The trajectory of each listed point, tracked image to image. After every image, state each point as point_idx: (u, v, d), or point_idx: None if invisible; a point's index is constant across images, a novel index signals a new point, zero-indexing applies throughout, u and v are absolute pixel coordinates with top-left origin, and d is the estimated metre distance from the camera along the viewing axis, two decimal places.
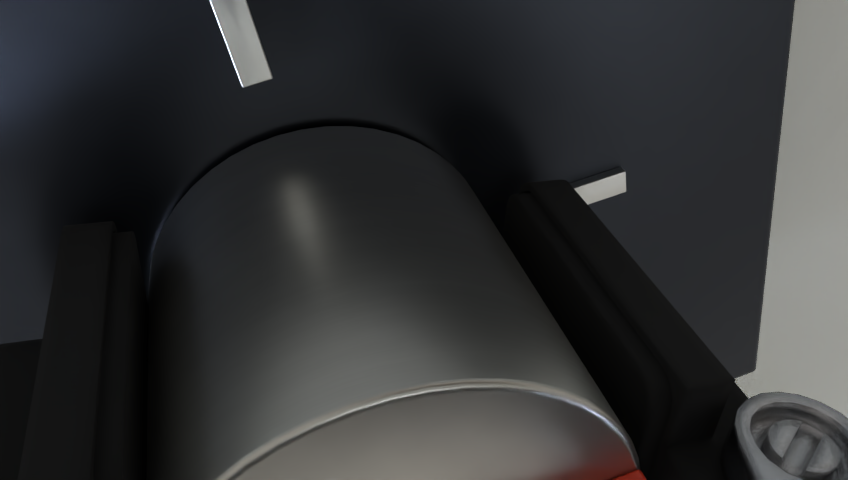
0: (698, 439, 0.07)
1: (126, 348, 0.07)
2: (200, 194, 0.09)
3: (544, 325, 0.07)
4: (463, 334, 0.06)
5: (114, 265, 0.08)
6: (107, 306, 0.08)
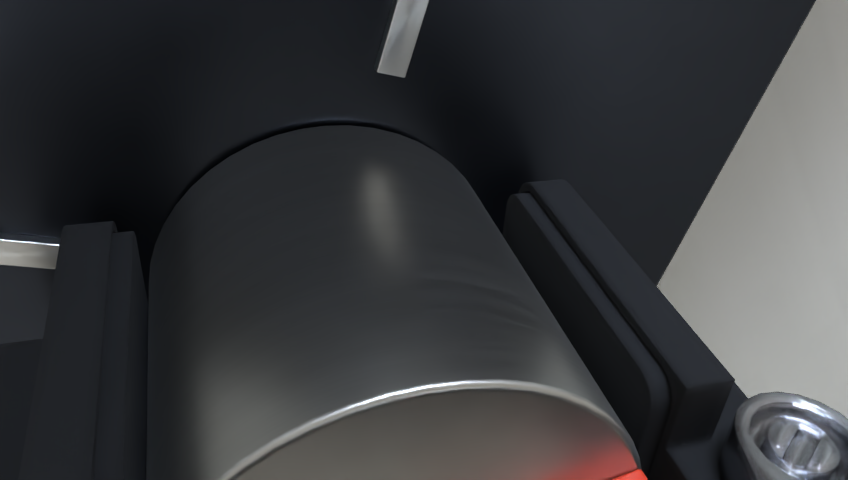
0: (698, 439, 0.07)
1: (126, 348, 0.07)
2: (199, 195, 0.09)
3: (544, 325, 0.07)
4: (462, 335, 0.06)
5: (114, 265, 0.08)
6: (108, 306, 0.08)
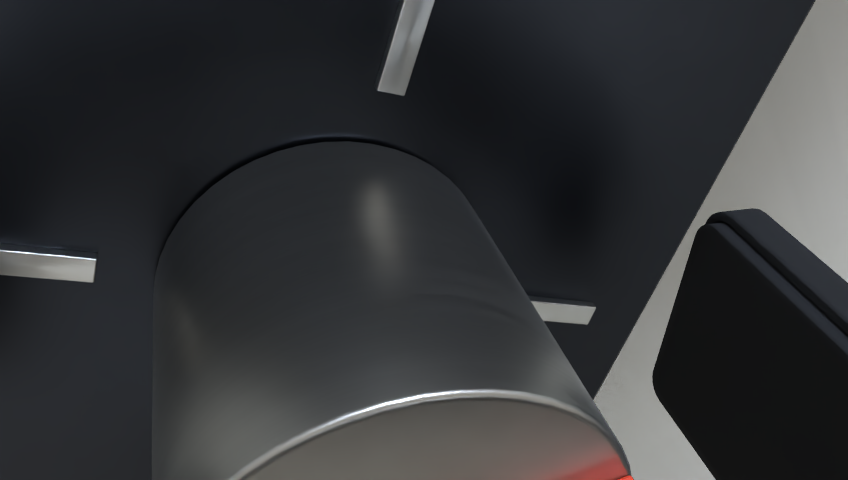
0: None
1: None
2: (202, 209, 0.09)
3: (536, 335, 0.07)
4: (455, 346, 0.07)
5: None
6: None
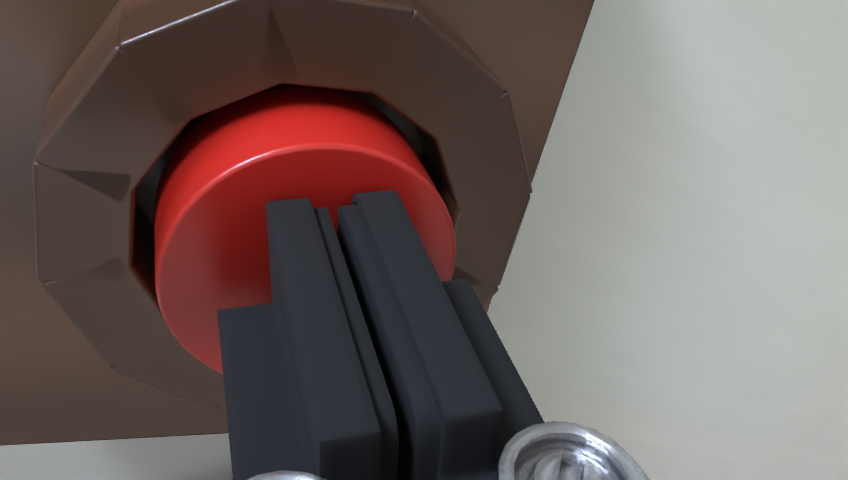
0: (475, 472, 0.07)
1: (360, 309, 0.08)
2: None
3: None
4: None
5: (324, 237, 0.09)
6: (330, 273, 0.08)
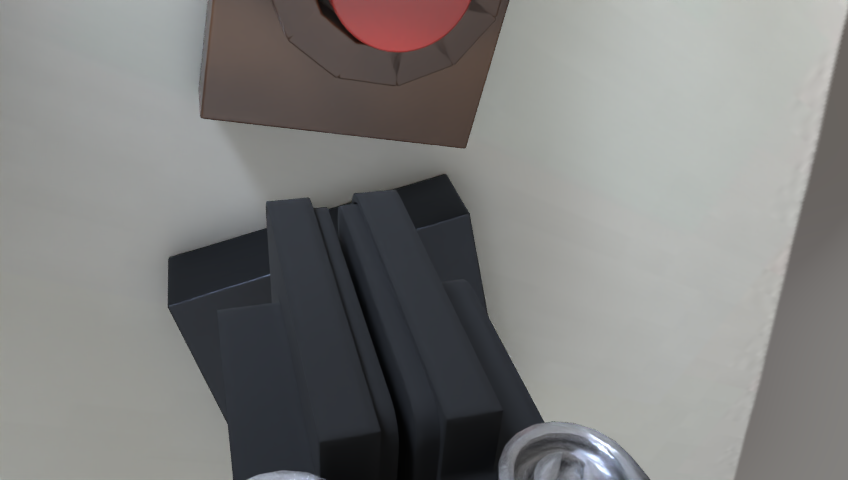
0: (475, 472, 0.07)
1: (360, 309, 0.08)
2: None
3: None
4: None
5: (323, 237, 0.09)
6: (329, 273, 0.08)
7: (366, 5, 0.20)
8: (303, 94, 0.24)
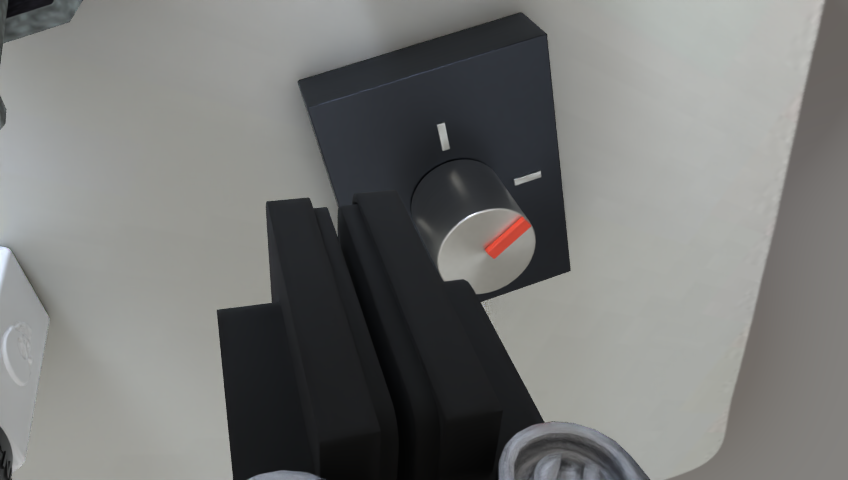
0: (475, 472, 0.07)
1: (360, 309, 0.08)
2: (416, 196, 0.36)
3: (492, 196, 0.34)
4: (471, 206, 0.33)
5: (324, 236, 0.09)
6: (329, 272, 0.08)
7: None
8: None
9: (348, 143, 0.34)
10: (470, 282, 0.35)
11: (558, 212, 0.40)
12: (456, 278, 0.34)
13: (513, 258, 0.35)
